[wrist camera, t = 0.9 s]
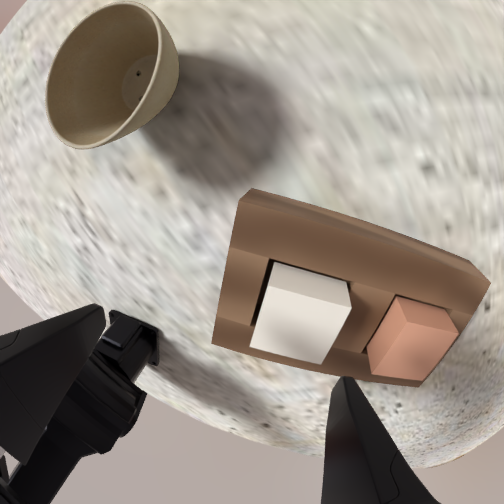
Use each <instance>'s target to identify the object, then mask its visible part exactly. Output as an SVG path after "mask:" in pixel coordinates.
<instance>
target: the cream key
mask: <svg viewBox="0 0 504 504" xmlns="http://www.w3.org/2000/svg"><path fill="white" fill-rule="evenodd" d="M351 308H352V307H351V302H350V297H349V293H348V288H347V284H346V282H344V281H341V280H337V279H334V278H330V277H326V276H323V275H319V274H316V273H312V272H309V271H305V270H302V269H298V268H295V267H291V266H287V265H284V264H280V263H277V262H274V265H273V269H272V272H271V275H270V279H269V282H268V286H267V289H266V292H265V296H264V299H263V302H262V306H261V309H260V312H259V316H258V319H257V322H256V326H255V329H254V333H253V336H252V340H251V343H250V347H252V348H256V349H260V350H263V351H267V352H271V353H274V354H278V355H282V356H286V357H290V358H294V359H298V360H303V361H307V362H311V363H316V364H322V362H323V360H324V358H325V357H326V355H327V353H328V351H329V350H330V348H331V346H332V344H333V343H334V341H335V339H336V337H337V335H338V333H339V332H340V330H341V328H342V326H343V324H344V322H345V320H346V318H347V316H348V314H349V312H350V310H351Z"/></svg>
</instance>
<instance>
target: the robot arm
mask: <svg viewBox="0 0 504 504" xmlns="http://www.w3.org/2000/svg"><path fill="white" fill-rule="evenodd" d="M109 318H110V324H111V326H110V327H109V328H108V329H107V330H106V331H105V332H104V334H103V335H102V333H103V331H104V329H105V327H106V319H105V314H104V309H103V307H102V306H100V305H97V304H95V303H93V304H90V305H87V306H84V307H82V308H79V309H76V310H73V311H70V312H67V313H64V314H62V315H59V316H56V317H53V318H50V319H47V320H45V321H42V322H39V323H36V324H33V325H31V326H28V327H25V328H22V329H21V330H20V329H19V330H16V331H14V332H11V333H8V334H5V335H1V336H0V504H50V503H51V501H52V500H53V498H54V497H55V495H56V494H57V492H58V491H59V489H60V488H61V486H62V485H63V483H64V482H65V480H66V479H67V477H68V476H69V475H70V473H71V472H72V470H73V469H74V467H75V466H76V464H77V463H78V461H79V460H80V459H81V458H82V457H85V456H88V455H92V454H95V453H100V454H104V453H106V452H109V451H110V450H111V449H112V447H113V446H114V444H115V442H116V441H117V439H118V438H119V437H123V436H125V435H126V434H127V433H128V432H129V431H130V430H131V429H132V428H133V426H134V425H135V423H136V421H137V419H138V416H139V414H140V410H141V408H142V406H143V403H144V401H145V398H146V395H147V393H146V392H145V391H144V390H143V391H142V390H141V389H140V388H139V387H137V386H136V385H135V384H134V383H135V381H136V380H137V378H138V376H139V375H140V373H141V372H142V370H143V369H144V367H145V366H146V364H147V363H149V364H151V365H154V366H158V364H159V346H158V330H157V329H156V328H155V327H152V326H150V325H147V324H145V323H142V322H140V321H138V320H135V319H133V318H131V317H128V316H126V315H124V314H121V313H119V312H117V311H115V310H111V311H110V312H109ZM101 335H102V336H101ZM100 336H101V338H100ZM99 338H100V339H99ZM98 340H99V341H98ZM5 451H7V452H8V453H9V454H10V455H11V456H13V457H14V458H15V459H17V460H18V461H19V463H18V464H17V465H16V467H15V469H14V470H13V472H12V473H11V475H10V476H9V475H8V470H7V465H6V460H5V456H4V455H3V454H4V453H5ZM321 504H441V503H439V502H438V501H437V500H436V499H434V497H433V496H432V495H431V494H430V493H429V491H428V490H427V489H426V487H425V486H424V485H423V484H422V482H421V481H420V480H419V479H418V477H417V476H416V475H415V474H414V472H413V471H412V469H411V468H410V466H409V465H408V463H407V462H406V460H405V459H404V457H403V456H402V454H401V452H400V451H399V450H398V448H397V446H396V444H395V443H394V441H393V440H392V438H391V436H390V435H389V433H388V432H387V430H386V428H385V427H384V425H383V424H382V422H381V420H380V419H379V417H378V416H377V414H376V412H375V411H374V409H373V408H372V406H371V404H370V403H369V401H368V400H367V398H366V397H365V395H364V393H363V392H362V390H361V389H360V387H359V386H358V384H357V383H356V381H355V379H354V378H353V377H350V376H341V377H340V379H339V380H338V382H337V383H336V385H335V386H334V388H333V390H332V392H331V398H330V406H329V413H328V420H327V426H326V438H325V459H324V475H323V487H322V497H321Z"/></svg>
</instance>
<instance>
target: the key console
mask: <svg viewBox="0 0 504 504" xmlns="http://www.w3.org/2000/svg"><path fill="white" fill-rule="evenodd" d="M274 262H277V263H280V264H284V265H287V266H291V267H295V268H298V269H302V270H305V271H309V272H312V273H316V274H319V275H323V276H326V277H330V278H334V279H337V280H341V281H344V282H346V284H347V288H348V293H349V297H350V302H351V307H352V308H351V310H350V312H349V314H348V316H347V318H346V320H345V322H344V324H343V326H342V328H341V330H340V332H339V333H338V335H337V337H336V339H335V341H334V343H333V344H332V346H331V348H330V350H329V351H328V353H327V355H326V357H325V358H324V360H323V362H322V364H316V363H311V362H307V361H303V360H298V359H294V358H290V357H286V356H282V355H278V354H274V353H271V352H267V351H263V350H260V349H256V348H252V347H250V343H251V340H252V336H253V333H254V329H255V326H256V322H257V319H258V316H259V312H260V309H261V306H262V302H263V299H264V296H265V292H266V289H267V286H268V282H269V279H270V275H271V272H272V269H273V265H274ZM490 284H491V282H490V281H489V280H488V279H487V278H486V277H485V276H484V275H483V274H482V273H481V272H480V271H479V270H478V269H477V268H476V267H475V266H474V265H473V264H472V263H471V262H470V261H469V260H466V259H464V258H462V257H459V256H457V255H455V254H452V253H450V252H447V251H445V250H442V249H440V248H437V247H435V246H432V245H430V244H427V243H424V242H422V241H419V240H417V239H414V238H411V237H408V236H406V235H403V234H400V233H397V232H395V231H392V230H389V229H386V228H383V227H380V226H378V225H375V224H372V223H369V222H366V221H363V220H360V219H357V218H354V217H350V216H347V215H344V214H341V213H338V212H335V211H331V210H328V209H325V208H322V207H318V206H315V205H311V204H308V203H305V202H301V201H298V200H294V199H290V198H287V197H283V196H279V195H276V194H272V193H268V192H264V191H261V190H257V189H253V188H251V189H250V190H249V191H248V192H247V193H246V194H245V195H244V196H243V197H242V198H241V199H240V200H239V202H238V207H237V212H236V216H235V221H234V226H233V231H232V236H231V241H230V246H229V251H228V256H227V261H226V267H225V272H224V277H223V282H222V287H221V293H220V298H219V304H218V309H217V315H216V320H215V326H214V331H213V337H212V343H211V344H214V345H217V346H221V347H224V348H227V349H230V350H233V351H237V352H240V353H243V354H247V355H250V356H254V357H258V358H261V359H265V360H269V361H273V362H276V363H280V364H284V365H288V366H293V367H297V368H301V369H306V370H310V371H315V372H320V373H324V374H330V375H335V376H340V377H341V376H350V377H353V378H354V379H357V380H363V381H370V382H377V383H384V384H392V385H401V386H410V387H419V386H420V385H421V384H422V383H423V382H424V381H425V380H426V378H427V377H428V376H429V375H430V374H431V373H432V371H433V370H434V369H435V368H436V366H437V365H438V364H439V363H440V361H441V360H442V359H443V358H444V356H445V355H446V354H447V352H448V351H449V350H450V348H451V347H452V345H453V344H454V343H455V341H456V340H457V338H458V337H459V336H460V334H461V333H462V331H463V330H464V328H465V327H466V325H467V324H468V322H469V320H470V319H471V317H472V316H473V314H474V312H475V311H476V309H477V307H478V306H479V304H480V302H481V301H482V299H483V297H484V295H485V293H486V292H487V290H488V288H489V286H490ZM395 296H398V297H402V298H405V299H409V300H413V301H416V302H420V303H423V304H427V305H431V306H434V307H438V308H441V309H445V310H446V312H447V314H448V315H449V317H450V319H451V320H452V322H453V324H454V326H455V327H456V329H457V331H458V333H459V334H458V336H457V337H456V339H455V340H454V341H453V343H452V344H451V346H450V347H449V348H448V350H447V351H446V352H445V354H444V355H443V356H442V358H441V359H440V360H439V361H438V363H437V364H436V365H435V367H434V368H433V369H432V370H431V371H430V373H429V374H428V375H427V376H426V377H425V379H424V380H423V381H420V380H411V379H403V378H395V377H388V376H381V375H374V374H371V369H370V363H369V357H368V352H367V347H366V346H367V345H368V343H369V342H370V340H371V338H372V337H373V335H374V333H375V332H376V330H377V328H378V327H379V325H380V323H381V322H382V320H383V318H384V316H385V315H386V313H387V311H388V309H389V308H390V306H391V304H392V302H393V300H394V298H395Z"/></svg>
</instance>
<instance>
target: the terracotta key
mask: <svg viewBox="0 0 504 504" xmlns="http://www.w3.org/2000/svg"><path fill="white" fill-rule="evenodd" d="M458 334H459V333H458V331H457V329H456V327H455V326H454V324H453V322H452V320H451V319H450V317H449V315H448V314H447V312H446V310H445V309H441V308H438V307H434V306H431V305H427V304H423V303H420V302H416V301H413V300H409V299H405V298H402V297H398V296H395V298H394V300H393V302H392V304H391V306H390V308H389V309H388V311H387V313H386V315H385V316H384V318H383V320H382V322H381V323H380V325H379V327H378V328H377V330H376V332H375V333H374V335H373V337H372V338H371V340H370V342H369V343H368V345H367V346H366V347H367V352H368V357H369V363H370V369H371V374H374V375H381V376H388V377H395V378H403V379H411V380H420V381H423V380H424V379H425V377H426V376H427V375H428V374H429V373H430V371H431V370H432V369H433V368H434V367H435V365H436V364H437V363H438V361H439V360H440V359H441V358H442V356H443V355H444V354H445V352H446V351H447V350H448V348H449V347H450V346H451V344H452V343H453V341H454V340H455V339H456V337H457V336H458Z"/></svg>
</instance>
